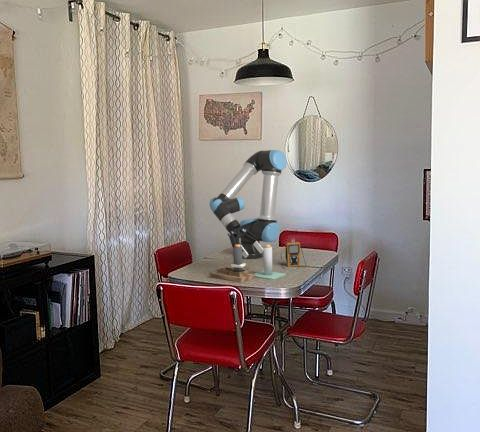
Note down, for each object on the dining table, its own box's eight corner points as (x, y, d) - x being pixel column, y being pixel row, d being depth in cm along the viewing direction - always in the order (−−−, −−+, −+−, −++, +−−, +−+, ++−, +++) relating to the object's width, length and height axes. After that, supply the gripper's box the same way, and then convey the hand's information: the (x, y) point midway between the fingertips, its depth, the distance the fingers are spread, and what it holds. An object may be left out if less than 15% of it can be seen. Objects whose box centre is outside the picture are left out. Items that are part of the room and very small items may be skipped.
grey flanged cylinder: (237, 272, 249) (236, 243, 247) (249, 274, 244) (248, 244, 243) (230, 275, 245) (229, 245, 243) (242, 277, 240) (241, 246, 238)
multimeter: (285, 270, 260) (284, 233, 258) (280, 266, 270) (279, 230, 268) (311, 268, 263) (311, 231, 261) (305, 264, 273) (304, 229, 270)
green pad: (263, 271, 259) (263, 270, 259) (286, 274, 250) (286, 273, 250) (250, 276, 250) (250, 275, 249) (272, 279, 241) (272, 278, 241)
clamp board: (224, 273, 258) (224, 265, 258) (254, 277, 246) (254, 270, 245) (210, 277, 250) (210, 269, 249) (241, 282, 237) (240, 274, 237)
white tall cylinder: (267, 272, 253) (266, 243, 251) (274, 274, 250) (273, 244, 248) (262, 274, 250) (261, 245, 248) (269, 275, 247) (268, 246, 245)
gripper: (241, 225, 273) (264, 254, 266) (212, 231, 254) (236, 263, 246) (248, 216, 269) (272, 245, 262) (219, 222, 250) (244, 253, 243)
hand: (254, 254), depth 254 cm, fingers open, 13 cm apart
